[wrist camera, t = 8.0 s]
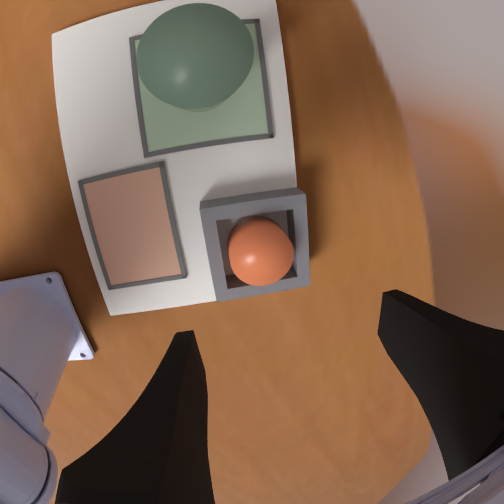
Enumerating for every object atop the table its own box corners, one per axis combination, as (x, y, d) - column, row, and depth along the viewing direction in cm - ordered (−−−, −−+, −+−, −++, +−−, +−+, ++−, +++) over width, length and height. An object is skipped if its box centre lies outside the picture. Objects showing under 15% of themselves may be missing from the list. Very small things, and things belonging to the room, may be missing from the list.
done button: (231, 274, 20) (234, 290, 18) (223, 220, 18) (225, 232, 17) (287, 265, 20) (295, 280, 18) (282, 211, 19) (291, 221, 17)
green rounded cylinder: (171, 118, 16) (143, 118, 9) (163, 57, 15) (131, 15, 7) (238, 108, 16) (260, 99, 9) (230, 47, 15) (246, -3, 8)
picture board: (112, 311, 21) (104, 330, 19) (55, 36, 13) (39, 28, 11) (300, 281, 22) (310, 298, 20) (272, -7, 14) (280, -21, 12)
